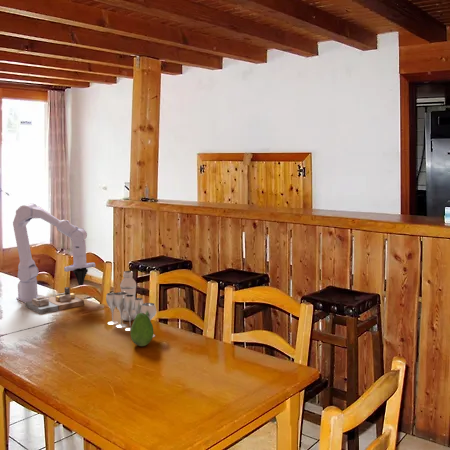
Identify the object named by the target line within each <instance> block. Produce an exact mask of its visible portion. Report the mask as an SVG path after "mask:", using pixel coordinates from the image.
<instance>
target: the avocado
mask: <svg viewBox="0 0 450 450" xmlns="http://www.w3.org/2000/svg"><path fill="white" fill-rule="evenodd" d="M153 334H154V326H153V324H152V320H151V321H150V319H149V317H148V316H147V315H146V314H145V313H139V314H137V316H136V317H135V319H134V320H133V321H132V325H131V331H130V339H131V341H132V342H133V344H134V345H136V346H139V347H145V346H147V345H148V344H150V342H152V340H153V338H154V337H153Z"/></svg>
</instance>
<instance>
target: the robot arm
mask: <svg viewBox="0 0 450 450" xmlns="http://www.w3.org/2000/svg"><path fill="white" fill-rule="evenodd" d="M33 219H41V220H42V221H44V222H47V223H49V224H51V225H53V226H54V227H56V230H57V232H60V233H61V234H63V235H65V236H66V237H68V238H70V240H71V242H72V258H73V259H72V261H73V262H72V264H71V265H68V266H64V267H63V270H64V272H71V271H72V272H73V274H74V275H75V278H76V281H77V284H78V285H79V286H83V285H84V282H85V279H86V276H87V274H88V272H89V270H88V268H96V263H95V262H87V246H86V243H87V242H86V238H87V236H88V233H87V231H86V229H84V228H82V227H79V226H78V225H74V224H72V223H70V220H68V219H62V220H60V219H59V218H58V217H56V216H54V215H53V214H51V213H50V212H48V211H46V210H45V209H44V208H42V206H39V205H36V204H35V203H29V204H26V205H25V204H24V205H20V206H19V207H18V208H17V209H16V210H15V215H14V219H13V221H12V226H13V231H14V237H15V242H16V246H17V247H16V248H17V253H18V258H19V263H18V265H17V266H18V267H17V269H18V271H17V278H18V280H19V282H18V284H17V295H18V296H17V297H16V299H17V300H18V301H21V302H23V303H25V302H29V301H32V299H34V298H39V297H40V296H38V279H37V276H38V275H39V273H40V272H39V268H38V267H37V265H36V262H35V260H34V259H33V257H32V251H31V245H30V239H29V235H28V229H27V224H29V222H30V221H31V220H33Z"/></svg>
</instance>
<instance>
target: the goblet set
mask: <svg viewBox="0 0 450 450" xmlns="http://www.w3.org/2000/svg"><path fill="white" fill-rule="evenodd" d="M105 300H106V304H107V306H108V307H109V308H110V311H111V319H112V320H111V321H108V322H107V325H110V326H111V325H115V328H118V329H123V328H125V329H124V330H125V331H127V332H131V327H132V325H131V313H132V310H133V308H135V311H136V313H137V314H139V313H145V314H146V315H147V316H148V317H149V319H150V321H151V322H152V320H153V318H154V317H155V316H156V314H157V307H156V305H155V303H154V302H144V298H142V297H135V300H134V295H127V293H125V292H121V291H119V292H108V293H106V297H105ZM125 307H126V309H127V311H128V314H129V320H130V321H129V327H128V324H125V323H123V319H122V311H123V309H124V308H125ZM116 308H117V310H118V311H119V314H120V315H119V316H120V321H117V320H114V313H115V309H116ZM119 322H120V323H119ZM155 337H156V334H154V333H153V338H155Z"/></svg>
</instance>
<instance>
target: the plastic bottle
mask: <svg viewBox="0 0 450 450" xmlns="http://www.w3.org/2000/svg"><path fill="white" fill-rule="evenodd" d="M133 273H134V272H133V271H132V270H126V271H125V270H124V271H123V275H122V276H123V278H122V280H121V282H120V285H119V286H120V292H125V293H127V295H134V300H135V299H136V292H137V282H136V280H135V279H134V278H133V276H134V275H133ZM136 316H137V313H136V311H135V308H133V310H132V313H131V321H132V322H133V321H134V319H135V317H136ZM122 321H126V322H130V320H129V314H128V311H127V309H126V307H125V308H124V309H123V311H122Z"/></svg>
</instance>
